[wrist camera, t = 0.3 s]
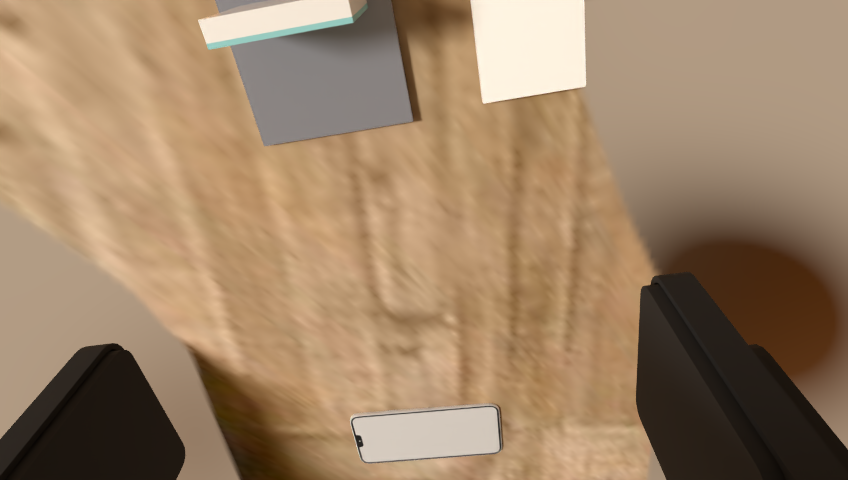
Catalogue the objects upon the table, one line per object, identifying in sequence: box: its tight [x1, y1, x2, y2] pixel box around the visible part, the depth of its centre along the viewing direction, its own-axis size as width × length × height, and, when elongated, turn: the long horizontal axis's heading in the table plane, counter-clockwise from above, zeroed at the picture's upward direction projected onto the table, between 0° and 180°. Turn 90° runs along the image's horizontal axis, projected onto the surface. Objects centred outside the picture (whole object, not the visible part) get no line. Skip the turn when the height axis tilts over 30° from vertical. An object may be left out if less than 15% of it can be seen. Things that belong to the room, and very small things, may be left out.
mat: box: [215, 0, 413, 146], centre depth 35 cm, size 12×11×1 cm
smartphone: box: [350, 403, 502, 464], centre depth 54 cm, size 7×1×15 cm
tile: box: [198, 0, 368, 50], centre depth 31 cm, size 2×8×7 cm, turn 100°
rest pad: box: [470, 0, 586, 104], centre depth 34 cm, size 10×7×1 cm
